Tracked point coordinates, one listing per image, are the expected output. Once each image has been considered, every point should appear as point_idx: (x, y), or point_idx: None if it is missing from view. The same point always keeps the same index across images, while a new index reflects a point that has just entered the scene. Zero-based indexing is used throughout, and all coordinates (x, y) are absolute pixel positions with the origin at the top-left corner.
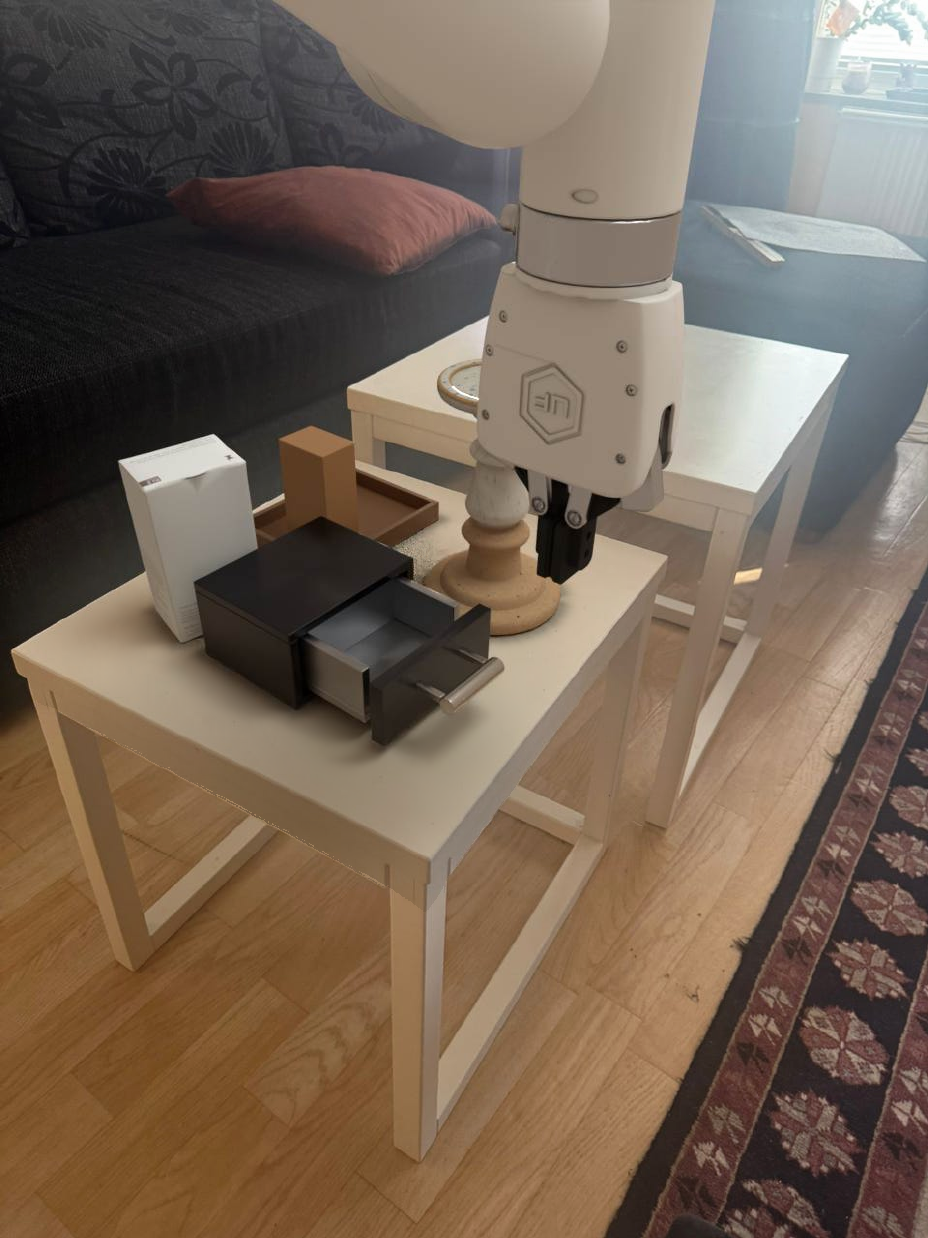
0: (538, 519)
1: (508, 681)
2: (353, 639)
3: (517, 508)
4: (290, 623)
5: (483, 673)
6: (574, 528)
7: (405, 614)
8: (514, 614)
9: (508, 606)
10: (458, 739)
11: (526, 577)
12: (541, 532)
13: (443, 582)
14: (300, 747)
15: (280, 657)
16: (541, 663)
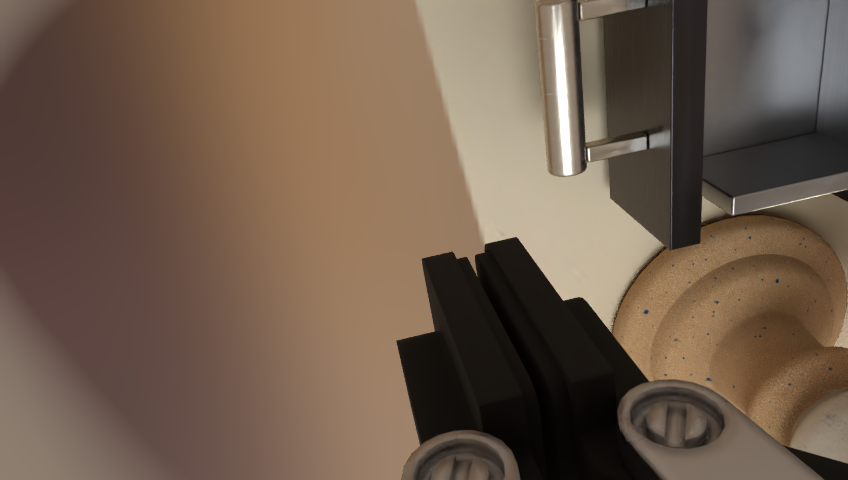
0: (644, 380)
1: (559, 201)
2: (839, 16)
3: None
4: None
5: (563, 121)
6: (439, 435)
7: (803, 144)
8: (654, 310)
9: (673, 313)
10: (521, 30)
11: (695, 381)
12: (575, 332)
13: (804, 267)
14: None
15: None
16: (549, 274)
